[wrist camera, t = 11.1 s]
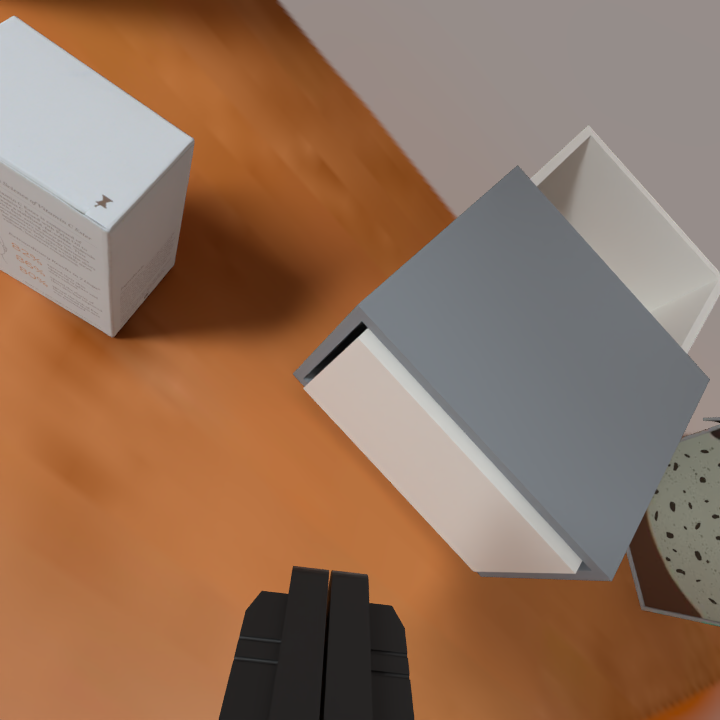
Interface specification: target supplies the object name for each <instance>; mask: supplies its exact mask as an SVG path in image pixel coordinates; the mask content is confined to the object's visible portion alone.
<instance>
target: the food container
mask: <svg viewBox="0 0 720 720" xmlns="http://www.w3.org/2000/svg"><path fill="white" fill-rule="evenodd" d="M703 420H704V421H715V422H719V423H720V417H715V418H714V417H713V418H703ZM626 553H627V556H628V560H629V564H630V568H631V572H632V575H633V579H634V583H635V587H636V591H637V594H638V598H639V602H640V606H641V610H645V611H649V612H654V613H659V614H663V615H668V616H673V617H677V618H682V619H687V620H691V621H696V622H701V623H705V624H710V625H715V626H719V627H720V425H717V426H714V427H711V428H708V429H705V430H703V431H700V432H697V433H694V434H691V435H688V436H685V437H683V438H681V440H680V442H679V444H678V446H677V448H676V450H675V452H674V454H673V456H672V458H671V460H670V462H669V465H668V467H667V469H666V471H665V473H664V475H663V477H662V479H661V481H660V483H659V485H658V487H657V489H656V491H655V493H654V495H653V497H652V499H651V501H650V504H649V506H648V508H647V510H646V512H645V514H644V516H643V518H642V520H641V522H640V524H639V526H638V528H637V530H636V532H635V534H634V536H633V538H632V540H631V543H630V545H629V547H628V549H627V551H626Z"/></svg>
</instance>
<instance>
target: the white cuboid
mask: <svg viewBox="0 0 720 720" xmlns="http://www.w3.org/2000/svg"><path fill="white" fill-rule="evenodd" d="M530 180H531V181H532V182H533V183H534V184H535V185H536V186H537V187H538V188H539V190H540V191H541V192H542V193H543V194H544V195H545V196H546V197H547V199H548V200H549V201H550V202H551V203H552V204H553V205H554V206H555V207H556V209H557V210H558V211H559V212H560V213H561V214H562V215H563V216H564V217H565V219H566V220H567V221H568V222H569V223H570V224H571V225H572V226H573V227H574V229H575V230H576V231H577V232H578V233H579V234H580V235H581V236H582V238H583V239H584V240H585V241H586V242H587V243H588V244H589V245H590V246H591V248H592V249H593V250H594V251H595V252H596V253H597V254H598V255H599V256H600V258H601V259H602V260H603V261H604V262H605V263H606V264H607V265H608V266H609V268H610V269H611V270H612V271H613V272H614V273H615V274H616V275H617V276H618V278H619V279H620V280H621V281H622V282H623V283H624V284H625V285H626V287H627V288H628V289H629V290H630V291H631V292H632V293H633V294H634V295H635V297H636V298H637V299H638V300H639V301H640V302H641V303H642V304H643V305H644V307H645V308H646V309H647V310H648V311H649V312H650V313H651V314H652V315H653V317H654V318H655V319H656V320H657V321H658V322H659V323H660V324H661V326H662V327H663V328H664V329H665V330H666V331H667V332H668V333H669V334H670V336H671V337H672V338H673V339H674V340H675V341H676V342H677V343H678V344H679V346H680V347H681V348H682V349H683V350H684V351H685V352H686V353H687V354H688V352H689V351H690V349H691V347H692V345H693V343H694V341H695V339H696V338H697V336H698V334H699V332H700V330H701V329H702V327H703V325H704V323H705V321H706V319H707V317H708V316H709V314H710V312H711V310H712V308H713V306H714V304H715V303H716V301H717V299H718V297H719V295H720V272H719V271H718V270H717V269H716V268H715V267H714V265H713V264H712V263H711V262H710V261H709V260H708V259H707V258H706V256H705V255H704V254H703V253H702V252H701V251H700V250H699V249H698V247H697V246H696V245H695V244H694V243H693V242H692V241H691V240H690V238H689V237H688V236H687V235H686V234H685V233H684V232H683V231H682V229H681V228H680V227H679V226H678V225H677V224H676V223H675V222H674V221H673V219H672V218H671V217H670V216H669V215H668V214H667V213H666V211H665V210H664V209H663V208H662V207H661V206H660V205H659V204H658V203H657V201H656V200H655V199H654V198H653V197H652V196H651V195H650V194H649V192H648V191H647V190H646V189H645V188H644V187H643V186H642V185H641V183H640V182H639V181H638V180H637V179H636V178H635V177H634V176H633V174H632V173H631V172H630V171H629V170H628V169H627V168H626V167H625V165H623V163H622V162H621V161H620V160H619V159H618V157H617V156H616V155H615V154H614V153H613V152H612V151H611V150H610V148H609V147H608V146H607V145H606V144H605V143H604V142H603V141H602V139H601V138H600V137H599V136H598V135H597V134H596V133H595V132H594V130H593V129H592V128H591V127H590V126H589V125H588V126H587V127H586V128H584V130H582V131H581V132H580V133H579V134H578V135H577V136H576V137H575V138H574V139H573V140H571V141H570V142H569V143H568V144H567V145H566V146H565V147H564V148H563V149H562V150H561V151H560V152H558V154H556V155H555V156H554V157H553V158H552V159H551V160H550V161H549V162H548V163H547V164H546V165H544V166H543V167H542V168H541V169H540V170H539V171H538V172H537V173H536V174H535V175H534V176H532V177H531V178H530ZM303 389H304V390H305V391H306V392H307V393H308V394H309V395H310V396H311V397H312V398H313V399H314V400H315V402H316V403H317V404H318V405H319V406H320V407H321V408H322V409H323V410H324V411H325V412H326V413H327V414H328V416H329V417H330V418H331V419H332V420H333V421H334V422H335V423H336V424H337V425H338V426H339V427H340V428H341V429H342V431H343V432H344V433H345V434H346V435H347V436H348V437H349V438H350V439H351V440H352V441H353V442H354V443H355V445H356V446H357V447H358V448H359V449H360V450H361V451H362V452H363V453H364V454H365V455H366V456H367V457H368V459H369V460H370V461H371V462H372V463H373V464H374V465H375V466H376V467H377V468H378V469H379V470H380V471H381V472H382V474H383V475H384V476H385V477H386V478H387V479H388V480H389V481H390V482H391V483H392V484H393V485H394V486H395V488H396V489H397V490H398V491H399V492H400V493H401V494H402V495H403V496H404V497H405V498H406V499H407V500H408V502H409V503H410V504H411V505H412V506H413V507H414V508H415V509H416V510H417V511H418V512H419V513H420V514H421V515H422V517H423V518H424V519H425V520H426V521H427V522H428V523H429V524H430V525H431V526H432V527H433V528H434V529H435V531H436V532H437V533H438V534H439V535H440V536H441V537H442V538H443V539H444V540H445V541H446V542H447V543H448V545H449V546H450V547H451V548H452V549H453V550H454V551H455V552H456V553H457V554H458V555H459V556H460V557H461V558H462V560H463V561H464V562H465V563H466V564H467V565H468V566H469V567H470V568H471V569H472V570H473V571H474V572H516V573H564V574H576V572H577V570H578V568H579V566H580V564H581V562H582V560H581V559H580V558H579V556H578V555H577V554H576V553H575V552H574V551H573V550H572V549H571V548H570V547H569V546H568V544H567V543H566V542H565V541H564V540H563V539H562V538H561V537H560V536H559V535H558V534H557V533H556V531H555V530H554V529H553V528H552V527H551V526H550V525H549V524H548V523H547V522H546V521H545V519H544V518H543V517H542V516H541V515H540V514H539V513H538V512H537V511H536V510H535V509H534V508H533V506H532V505H531V504H530V503H529V502H528V501H527V500H526V499H525V498H524V497H523V496H522V495H521V493H520V492H519V491H518V490H517V489H516V488H515V487H514V486H513V485H512V484H511V483H510V481H509V480H508V479H507V478H506V477H505V476H504V475H503V474H502V473H501V472H500V471H499V470H498V468H497V467H496V466H495V465H494V464H493V463H492V462H491V461H490V460H489V459H488V458H487V456H486V455H485V454H484V453H483V452H482V451H481V450H480V449H479V448H478V447H477V446H476V445H475V443H474V442H473V441H472V440H471V439H470V438H469V437H468V436H467V435H466V434H465V433H464V432H463V430H462V429H461V428H460V427H459V426H458V425H457V424H456V423H455V422H454V421H453V420H452V418H451V417H450V416H449V415H448V414H447V413H446V412H445V411H444V410H443V409H442V408H441V407H440V405H439V404H438V403H437V402H436V401H435V400H434V399H433V398H432V397H431V396H430V395H429V393H428V392H427V391H426V390H425V389H424V388H423V387H422V386H421V385H420V384H419V383H418V382H417V380H416V379H415V378H414V377H413V376H412V375H411V374H410V373H409V372H408V371H407V370H406V369H405V367H404V366H403V365H402V364H401V363H400V362H399V361H398V360H397V359H396V358H395V357H394V355H393V354H392V353H391V352H390V351H389V350H388V349H387V348H386V347H385V346H384V345H383V344H382V342H381V341H380V340H379V339H378V338H377V337H376V336H375V335H374V334H373V333H372V332H371V331H370V329H369V328H367V329H366V330H365V331H364V332H363V333H362V334H361V335H360V336H359V337H358V338H357V339H356V340H355V341H353V342H352V343H351V344H350V345H349V346H348V347H347V348H346V349H345V350H344V351H343V352H342V353H341V354H339V355H338V356H337V357H336V358H335V359H334V360H333V361H332V362H331V363H330V364H329V365H328V366H327V367H325V368H324V369H323V370H322V371H321V372H320V373H319V374H318V375H317V376H316V377H315V378H314V379H313V380H311V381H310V382H309V383H308V384H307V385H306V386H305V387H304V388H303Z"/></svg>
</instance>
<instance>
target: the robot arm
mask: <svg viewBox="0 0 720 720" xmlns="http://www.w3.org/2000/svg"><path fill="white" fill-rule="evenodd" d="M328 580H329V570H324V569H315V568H307V567H298V566H293V570H292V576H291V582H290V588H289V594H284V593H276V592H267V591H261V593H260V594H259V595H258V596H257V598H256V599H255V600H254V601H253V602H252V604H251V605H250V606H249V607H248V608H247V610H246V612H245V616H244V620H243V624H242V628H241V632H240V637H239V640H238V644H237V648H236V652H235V656H234V661H233V664H232V668H231V672H230V676H229V680H228V684H227V688H226V692H225V696H224V700H223V704H222V708H221V712H220V716H219V720H414V712H413V703H412V693H411V684H410V680H409V665H408V658H407V646H406V637H405V628H404V626H403V625H402V623H401V621H400V619H399V617H398V616H397V614H396V612H395V610H394V609H393V607H392V606H390V605H381V604H373V603H369V582H368V575H367V574H359V573H350V572H342V571H333V570H332V571H331V576H330V581H329V587H328Z"/></svg>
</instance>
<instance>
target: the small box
mask: <svg viewBox="0 0 720 720" xmlns="http://www.w3.org/2000/svg"><path fill="white" fill-rule="evenodd" d="M193 149H194V139H193V138H192V137H191V136H189V135H188V134H186V133H185V132H183V131H182V130H180V129H179V128H177V127H176V126H174V125H173V124H171V123H170V122H168V121H167V120H166V119H164V118H163V117H161V116H160V115H158V114H157V113H155V112H154V111H153V110H151V109H149V108H148V107H146V106H145V105H144V104H142V103H141V102H139V101H138V100H136V99H135V98H133V97H132V96H130V95H129V94H128V93H126V92H125V91H123V90H122V89H120V88H119V87H117V86H116V85H114V84H113V83H111V82H110V81H108V80H107V79H106V78H104V77H103V76H101V75H100V74H98V73H97V72H95V71H94V70H93V69H91V68H90V67H88V66H87V65H85V64H84V63H82V62H81V61H79V60H78V59H77V58H75V57H74V56H72V55H71V54H69V53H68V52H66V51H65V50H64V49H62V48H61V47H59V46H58V45H56V44H55V43H53V42H52V41H50V40H49V39H48V38H46V37H45V36H43V35H42V34H40V33H39V32H37V31H36V30H35V29H33V28H32V27H30V26H29V25H27V24H26V23H24V22H23V21H22V20H20V19H19V18H18V17H16V16H12V17H10V18H9V19H7V20H6V21H4V22H2V23H1V24H0V270H2V271H3V272H5V273H7V274H8V275H10V276H12V277H13V278H15V279H16V280H18V281H20V282H22V283H23V284H25V285H27V286H28V287H30V288H32V289H33V290H35V291H37V292H38V293H40V294H41V295H43V296H45V297H46V298H48V299H50V300H51V301H53V302H55V303H56V304H58V305H60V306H61V307H63V308H65V309H66V310H68V311H70V312H71V313H73V314H75V315H76V316H78V317H80V318H82V319H83V320H85V321H86V322H88V323H90V324H91V325H93V326H95V327H96V328H98V329H100V330H101V331H103V332H104V333H106V334H107V335H109V336H111V337H114V336H115V335H116V334H117V333H118V332H119V330H120V329H121V328H122V327H123V325H124V324H125V323H126V322H127V321H128V320H129V318H130V317H131V316H132V315H133V314H134V312H135V311H136V310H137V309H138V308H139V306H140V305H141V304H142V303H143V302H144V300H145V299H146V298H147V297H148V296H149V294H150V293H151V292H152V291H153V290H154V288H155V287H156V286H157V285H158V284H159V282H160V281H161V280H162V279H163V278H164V276H165V275H166V274H167V273H168V271H169V270H170V269H171V268H172V267H173V266H174V263H175V257H176V251H177V246H178V240H179V233H180V228H181V222H182V216H183V210H184V203H185V198H186V191H187V186H188V180H189V174H190V167H191V161H192V155H193Z"/></svg>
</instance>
